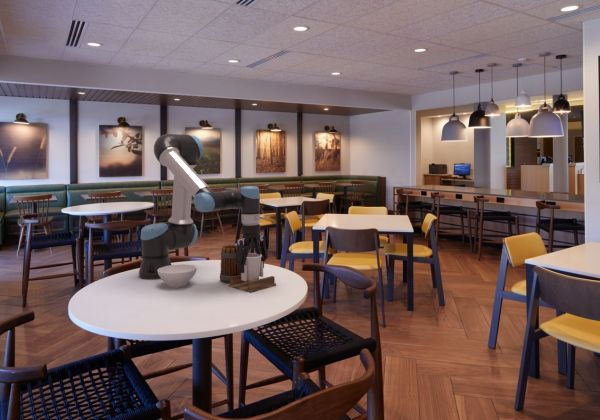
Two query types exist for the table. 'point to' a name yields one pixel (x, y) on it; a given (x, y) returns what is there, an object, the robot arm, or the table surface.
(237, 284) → the rail stand
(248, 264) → the dixie cup
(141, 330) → the table surface
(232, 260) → the mug
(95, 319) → the table surface
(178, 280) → the bowl
